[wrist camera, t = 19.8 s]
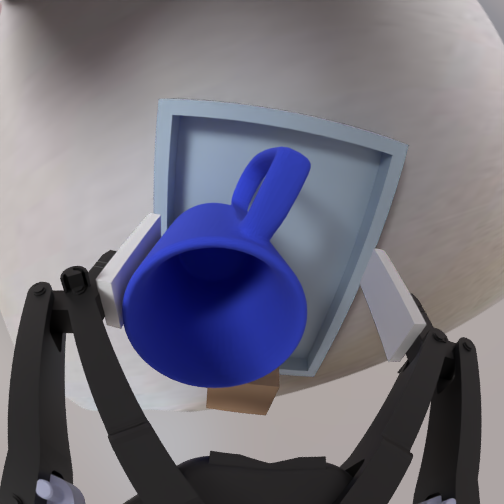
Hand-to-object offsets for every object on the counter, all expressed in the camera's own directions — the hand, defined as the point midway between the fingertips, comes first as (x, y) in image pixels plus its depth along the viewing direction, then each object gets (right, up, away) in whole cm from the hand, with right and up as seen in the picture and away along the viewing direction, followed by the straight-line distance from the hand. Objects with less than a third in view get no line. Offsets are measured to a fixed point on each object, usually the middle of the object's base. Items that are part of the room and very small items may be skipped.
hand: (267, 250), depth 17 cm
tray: (0, -1, +7) cm, 7 cm away
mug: (-3, +2, +4) cm, 5 cm away
